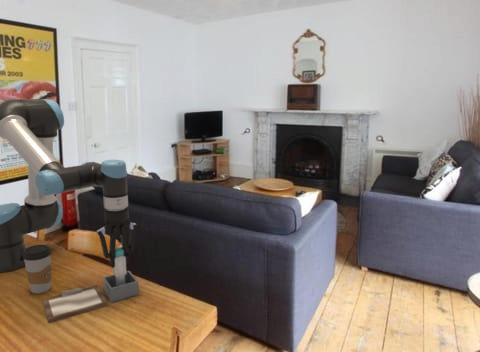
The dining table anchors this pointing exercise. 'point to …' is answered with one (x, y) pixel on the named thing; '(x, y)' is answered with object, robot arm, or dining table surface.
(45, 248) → the coffee cup
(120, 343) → the dining table surface
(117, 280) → the marker
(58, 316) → the clipboard
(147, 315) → the dining table surface
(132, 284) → the grey open box
